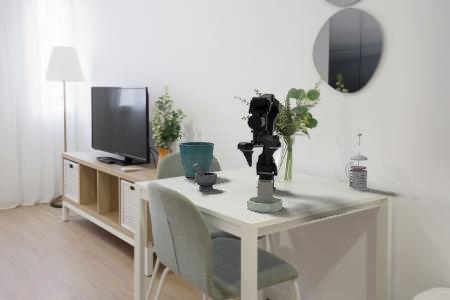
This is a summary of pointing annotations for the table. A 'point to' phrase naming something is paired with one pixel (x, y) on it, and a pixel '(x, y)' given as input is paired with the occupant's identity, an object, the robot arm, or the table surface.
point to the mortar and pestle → (204, 178)
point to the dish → (264, 205)
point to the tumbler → (265, 192)
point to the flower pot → (196, 156)
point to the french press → (357, 173)
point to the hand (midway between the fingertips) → (259, 165)
